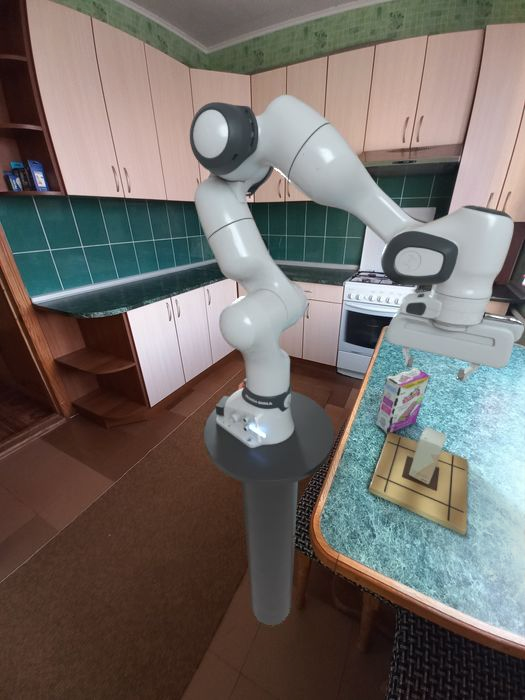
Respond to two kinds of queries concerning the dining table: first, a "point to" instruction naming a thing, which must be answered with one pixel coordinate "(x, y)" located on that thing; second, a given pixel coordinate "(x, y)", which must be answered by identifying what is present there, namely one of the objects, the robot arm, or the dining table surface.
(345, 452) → the dining table surface
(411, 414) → the candy bar box
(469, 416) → the dining table surface
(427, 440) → the box
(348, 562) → the dining table surface
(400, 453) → the board
